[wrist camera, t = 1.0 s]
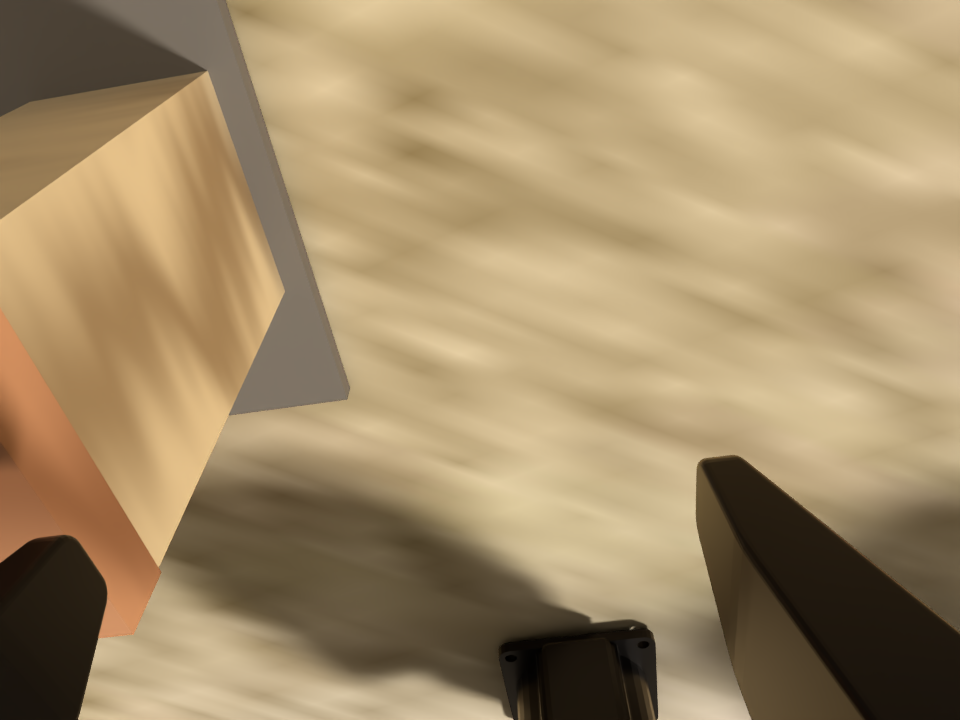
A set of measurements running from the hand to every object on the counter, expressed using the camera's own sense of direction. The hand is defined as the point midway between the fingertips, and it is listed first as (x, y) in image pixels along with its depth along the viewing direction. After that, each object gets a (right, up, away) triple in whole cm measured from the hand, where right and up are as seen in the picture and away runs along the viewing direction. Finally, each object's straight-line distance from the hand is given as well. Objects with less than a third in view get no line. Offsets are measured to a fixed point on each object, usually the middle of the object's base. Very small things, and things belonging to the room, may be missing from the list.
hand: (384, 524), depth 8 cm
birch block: (-7, +6, +11) cm, 14 cm away
